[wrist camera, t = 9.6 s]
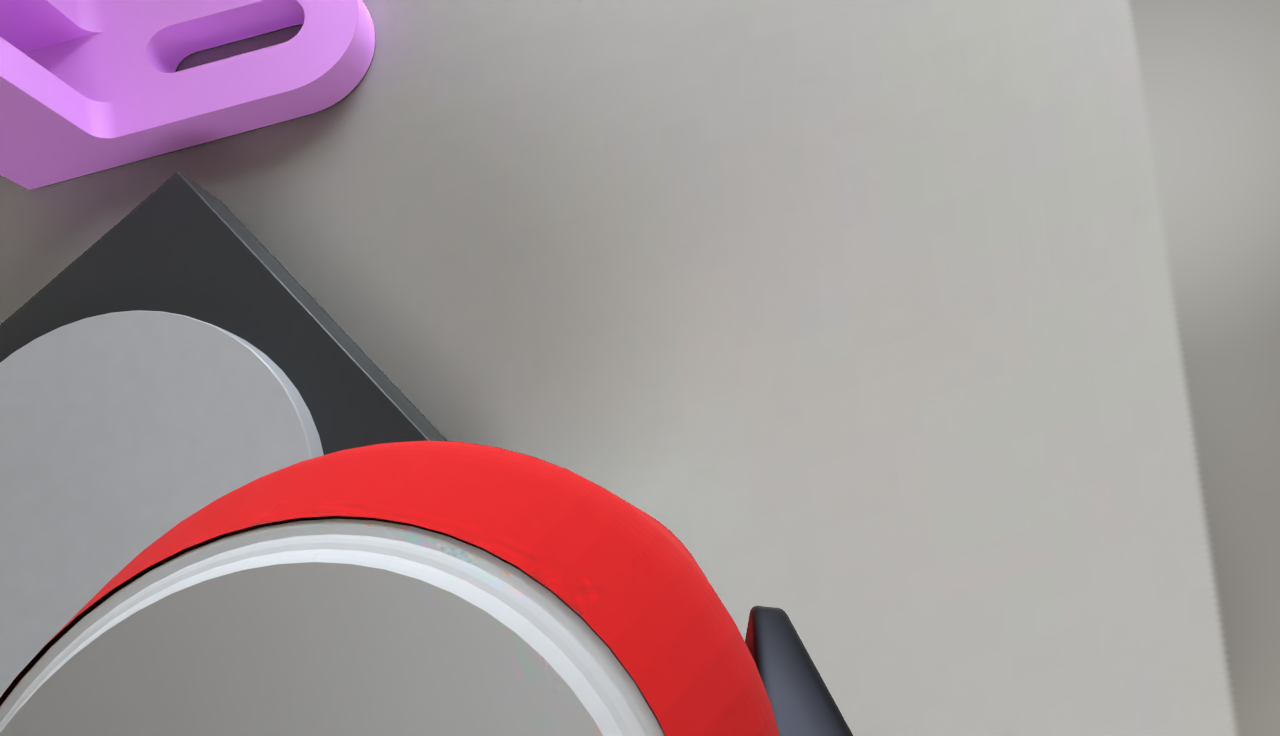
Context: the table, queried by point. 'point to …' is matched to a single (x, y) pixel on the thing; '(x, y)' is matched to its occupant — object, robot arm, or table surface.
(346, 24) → the bracket
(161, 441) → the scale
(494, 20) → the table surface
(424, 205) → the table surface
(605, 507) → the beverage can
